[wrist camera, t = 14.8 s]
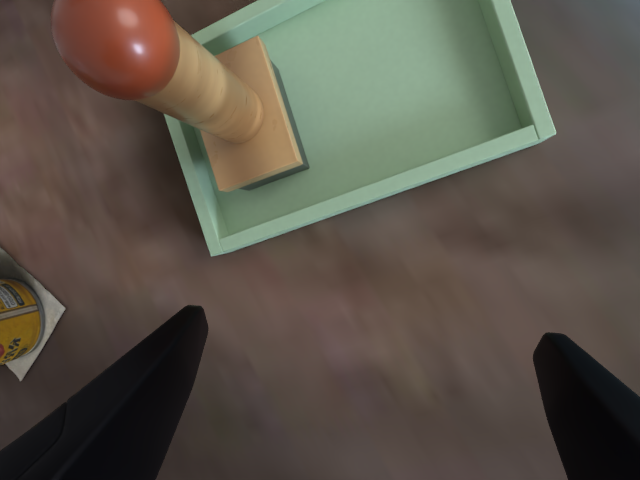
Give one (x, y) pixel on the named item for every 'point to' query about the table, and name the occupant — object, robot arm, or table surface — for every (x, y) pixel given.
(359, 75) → the tray
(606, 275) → the table surface
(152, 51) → the wooden rubber stamp
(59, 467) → the robot arm
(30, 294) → the condiment
